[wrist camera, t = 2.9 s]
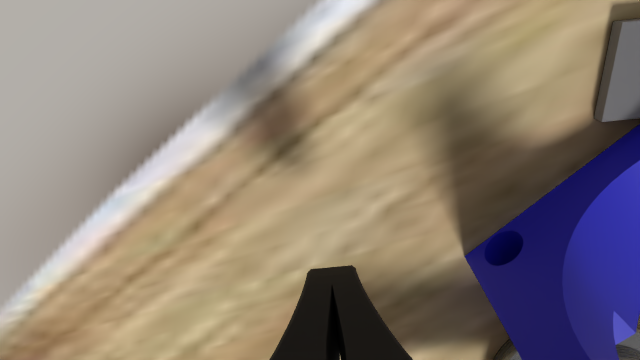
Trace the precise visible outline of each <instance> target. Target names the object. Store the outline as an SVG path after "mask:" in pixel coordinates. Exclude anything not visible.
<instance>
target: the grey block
mask: <svg viewBox="0 0 640 360" xmlns="http://www.w3.org/2000/svg"><path fill="white" fill-rule="evenodd" d="M636 118H640V18H639V19H629V20H620V21H613V25H612V30H611V35H610V40H609V45H608V50H607V55H606V60H605V65H604V70H603V75H602V80H601V85H600V90H599V95H598V100H597V105H596V110H595V115H594V119H596V120H599V121H601V122H607V121H617V120H627V119H636Z"/></svg>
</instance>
